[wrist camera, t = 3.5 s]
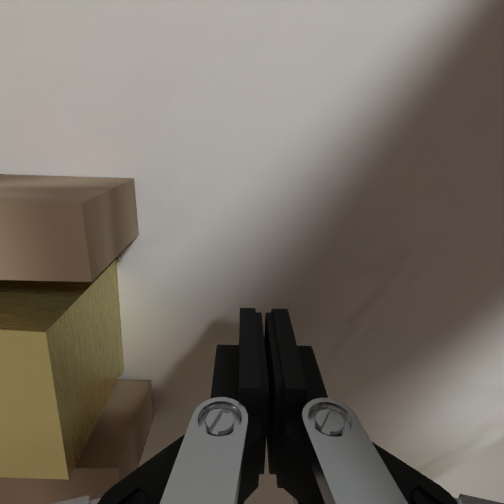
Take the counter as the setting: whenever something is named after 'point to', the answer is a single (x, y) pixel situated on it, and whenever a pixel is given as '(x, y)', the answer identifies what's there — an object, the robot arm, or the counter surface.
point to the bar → (55, 370)
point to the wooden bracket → (75, 270)
